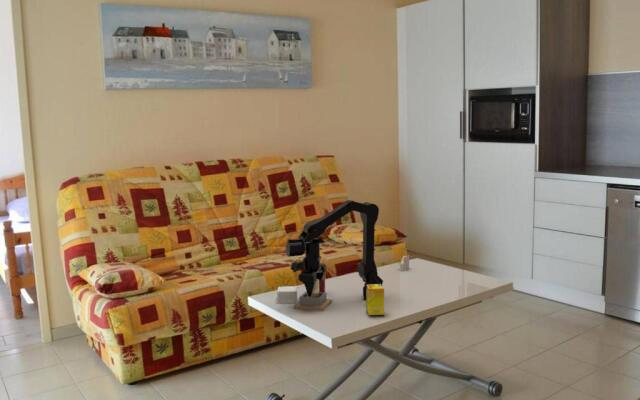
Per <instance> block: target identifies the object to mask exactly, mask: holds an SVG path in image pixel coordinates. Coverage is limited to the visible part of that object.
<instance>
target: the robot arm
mask: <svg viewBox="0 0 640 400" xmlns="http://www.w3.org/2000/svg"><path fill="white" fill-rule="evenodd" d="M351 212H356V213H359V216H360V219H361V222H362V226H363V227H362V259H361V262H357V271H356V272H357V273H358V275H359V278H361V279H362V281H363V283H364V286H363V287H362V297H363V298H362V299H363V300H365V301H366V285H369V284H381V285H382V286H383V285H384V284H383V283H384V280H383V279H382V278H381V277H380V276H379V275H378V267H377V264H376V262H375V229H376V228H375V227H376V223H377V221H378V219H379V213H380V208H379V206H378V205H377V204H376V203H372V202H368V201H365V202H357V201H354V200H352V199H347V200H345V201H344V202H343V203H341V204H339V205H338V206H337V207H335V208H334V209H333V210H331V211H329V212H328V213H326V214H325V215H323V216H321V217H319V218H316V219H315V218H314V219H312V220H310V221H308V222H306V223H305V224H304V225H303V230H302V231H301V233H300V235H299V236H298V237H297V238H288V239H287V240H286V245H285V253H286V256H287V257H299V256H303V255H304V257H303V259H302V260H299V261H295V262H293V261H292V262H291V265H290V270H292V273H297V272H298V271H299V272H300V271H302V272H300V273H299V274H298V276H297V277H298V281H299V282H300V283H302V284H303V285H304V288H305V292H306V291H307V294H308V296H311V295H312V292H313V289H314V286H315V283H316V279H319V286H320V283H321V281H322V278H323V276H324V274H325V275H326V271H327V265H326V264H325V263H323V262H321V259H322V256H321V253H320V250H321V249H320V248H321V246H320V245H321V244H324V243H326V241H325V240H324V239H323V238H322V237H321V236H322V235H323V234H324V233H325V232H326V230H327V229H328V228H329V227H330V226H332V225H333V224H334V223H336V222H337V221H339V220H340V219H342V218H344V217H345V216H347V215H348V214H349V213H351ZM322 270H323V271H322Z"/></svg>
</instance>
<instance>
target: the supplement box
mask: <svg viewBox="0 0 640 400" xmlns="http://www.w3.org/2000/svg"><path fill="white" fill-rule="evenodd" d="M365 301H366V303H365V304H366V305H365V306H366V310H365V311H366V314H367V316H368V317H369V318H377V317H380V316H381V317H385V287H383V284H382V285H381V284H369V285H366V300H365ZM381 317H380V318H381Z"/></svg>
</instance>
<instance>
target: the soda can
mask: <svg viewBox="0 0 640 400" xmlns="http://www.w3.org/2000/svg"><path fill="white" fill-rule="evenodd" d="M322 271H323V270H322ZM319 292H323V293H326V273H325V274H324V276H323V278H322V281H321V283H320V286H319Z"/></svg>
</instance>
